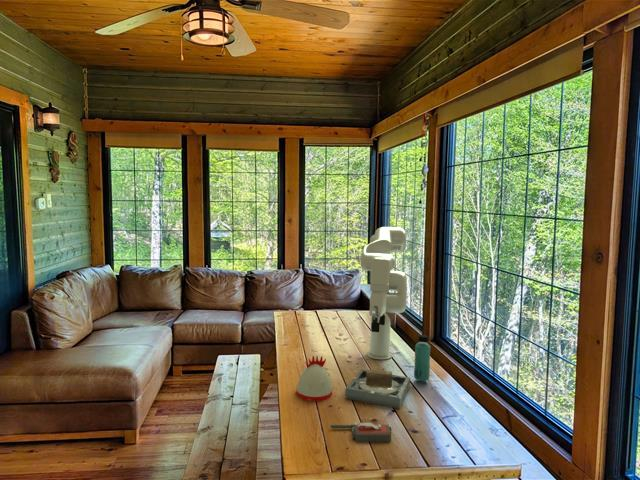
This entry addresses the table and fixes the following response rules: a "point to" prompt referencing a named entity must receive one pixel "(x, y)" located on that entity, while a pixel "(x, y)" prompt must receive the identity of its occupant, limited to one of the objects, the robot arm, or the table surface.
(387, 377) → the dial
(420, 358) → the beverage bottle
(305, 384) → the kitchen timer
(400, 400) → the dial housing
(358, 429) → the walkie-talkie
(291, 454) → the table surface
